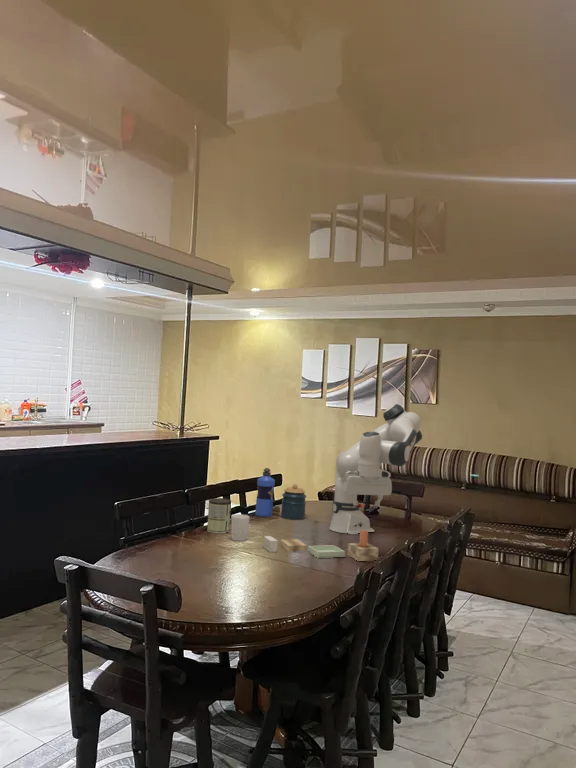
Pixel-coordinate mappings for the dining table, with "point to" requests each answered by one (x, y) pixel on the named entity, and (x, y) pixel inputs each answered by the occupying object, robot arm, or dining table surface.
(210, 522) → the coffee can
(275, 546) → the white rectangular block
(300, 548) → the notched wooden block
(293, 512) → the canister
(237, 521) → the white cup
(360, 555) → the socket block
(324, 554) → the tray
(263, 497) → the water bottle
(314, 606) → the dining table surface
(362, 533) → the dowel
